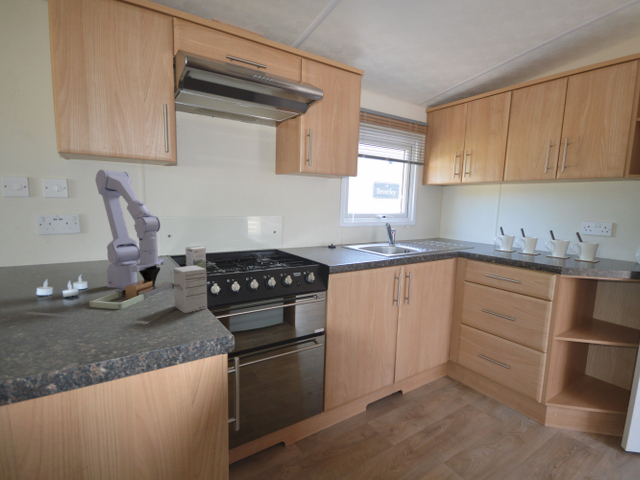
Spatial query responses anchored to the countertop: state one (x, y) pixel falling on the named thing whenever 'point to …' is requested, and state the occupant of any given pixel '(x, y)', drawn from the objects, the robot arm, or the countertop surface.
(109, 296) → the tray
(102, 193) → the robot arm
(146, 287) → the rear copper block
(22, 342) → the countertop surface
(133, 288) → the front copper block
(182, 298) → the supplement box
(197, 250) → the syrup box
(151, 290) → the aluminium slot
